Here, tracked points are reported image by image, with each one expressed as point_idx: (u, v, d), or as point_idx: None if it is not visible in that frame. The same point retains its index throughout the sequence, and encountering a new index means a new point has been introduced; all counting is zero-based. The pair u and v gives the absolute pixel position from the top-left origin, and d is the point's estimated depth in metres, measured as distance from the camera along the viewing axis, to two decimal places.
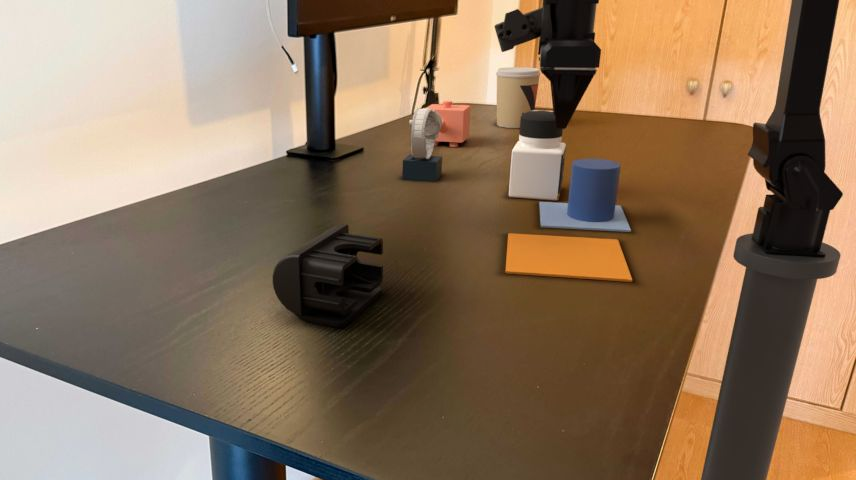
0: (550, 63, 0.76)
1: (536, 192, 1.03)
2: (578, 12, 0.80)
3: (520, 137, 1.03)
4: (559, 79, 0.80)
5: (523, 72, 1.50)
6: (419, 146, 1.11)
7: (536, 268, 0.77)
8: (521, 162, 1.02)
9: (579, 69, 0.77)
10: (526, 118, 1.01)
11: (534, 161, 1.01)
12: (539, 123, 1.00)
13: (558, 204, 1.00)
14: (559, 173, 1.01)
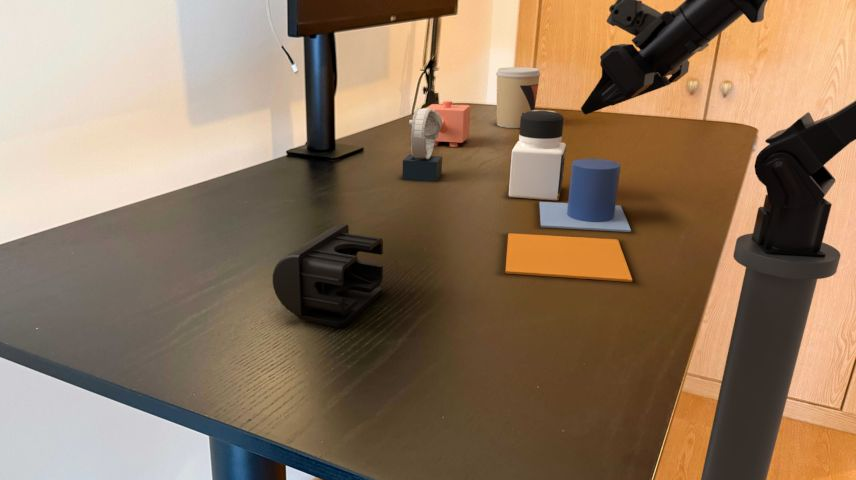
0: (605, 61, 0.85)
1: (536, 192, 1.03)
2: (672, 46, 0.86)
3: (520, 137, 1.03)
4: (609, 78, 0.88)
5: (523, 72, 1.50)
6: (419, 146, 1.11)
7: (536, 268, 0.77)
8: (521, 162, 1.02)
9: None
10: (526, 118, 1.01)
11: (534, 161, 1.01)
12: (539, 123, 1.00)
13: (558, 204, 1.00)
14: (559, 173, 1.01)
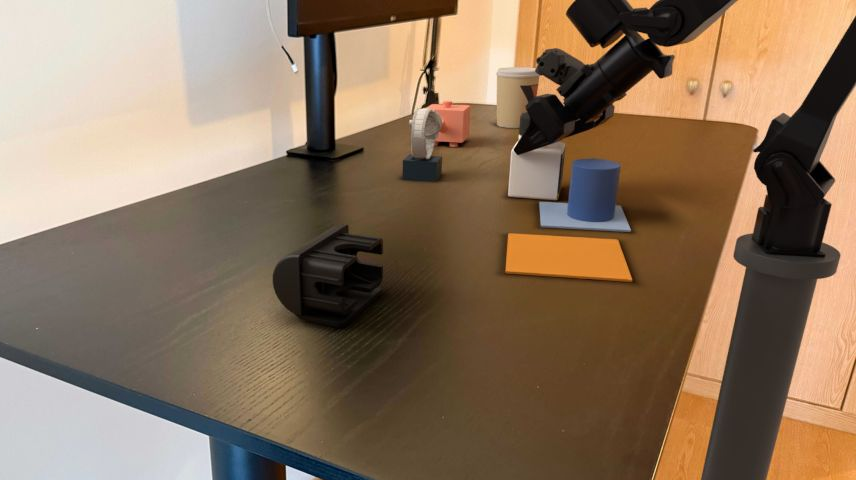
0: (530, 110, 0.93)
1: (535, 191, 1.03)
2: (591, 96, 0.94)
3: (520, 137, 1.03)
4: (536, 124, 0.96)
5: (523, 72, 1.50)
6: (419, 146, 1.11)
7: (536, 268, 0.77)
8: (520, 161, 1.02)
9: None
10: (525, 118, 1.01)
11: (533, 160, 1.01)
12: None
13: (558, 204, 1.00)
14: (558, 173, 1.01)
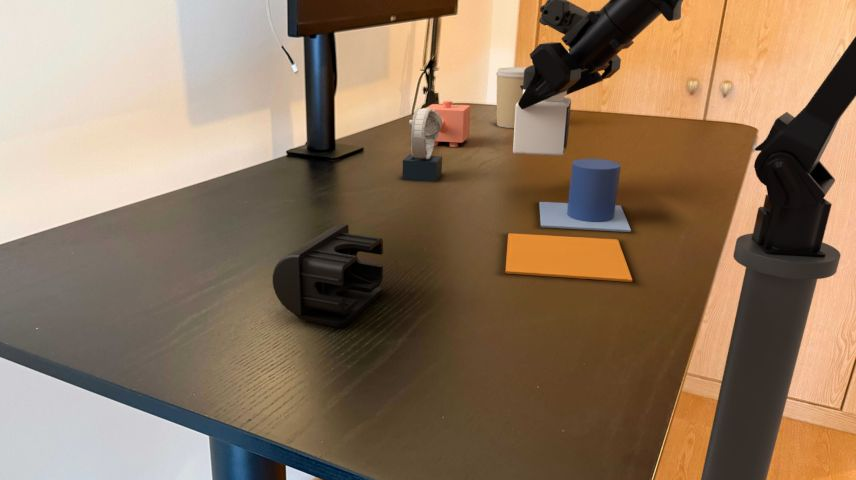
0: (534, 58, 0.90)
1: (541, 147, 1.00)
2: (598, 43, 0.91)
3: (524, 91, 1.00)
4: (541, 74, 0.94)
5: (523, 72, 1.50)
6: (419, 146, 1.11)
7: (536, 268, 0.77)
8: (525, 116, 0.99)
9: None
10: (529, 71, 0.98)
11: (538, 114, 0.98)
12: None
13: (558, 204, 1.00)
14: (565, 126, 0.98)
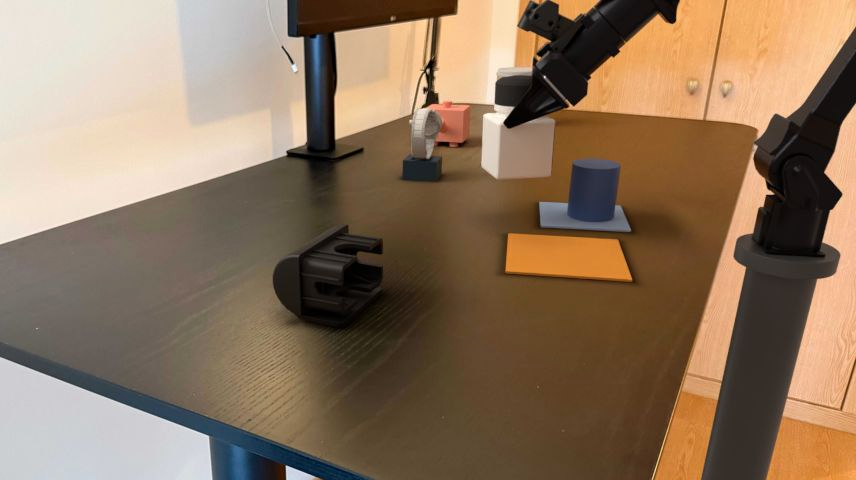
0: (545, 70, 0.77)
1: (528, 169, 0.88)
2: (595, 50, 0.81)
3: (502, 108, 0.87)
4: (538, 88, 0.81)
5: (523, 72, 1.50)
6: (419, 146, 1.11)
7: (536, 268, 0.77)
8: (510, 136, 0.86)
9: (559, 94, 0.79)
10: (509, 84, 0.85)
11: (525, 133, 0.86)
12: (527, 88, 0.85)
13: (558, 204, 1.00)
14: (552, 144, 0.87)
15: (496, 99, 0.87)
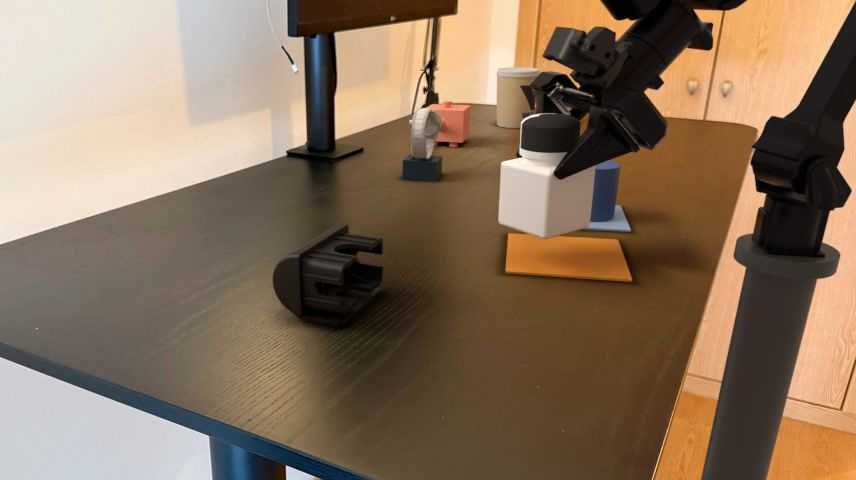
0: (628, 112, 0.65)
1: (571, 222, 0.75)
2: (642, 83, 0.72)
3: (541, 155, 0.73)
4: (600, 131, 0.69)
5: (523, 72, 1.50)
6: (419, 146, 1.11)
7: (536, 268, 0.77)
8: (558, 187, 0.72)
9: (631, 137, 0.68)
10: (552, 127, 0.71)
11: (571, 182, 0.73)
12: (572, 131, 0.72)
13: None
14: (592, 191, 0.76)
15: (530, 145, 0.73)
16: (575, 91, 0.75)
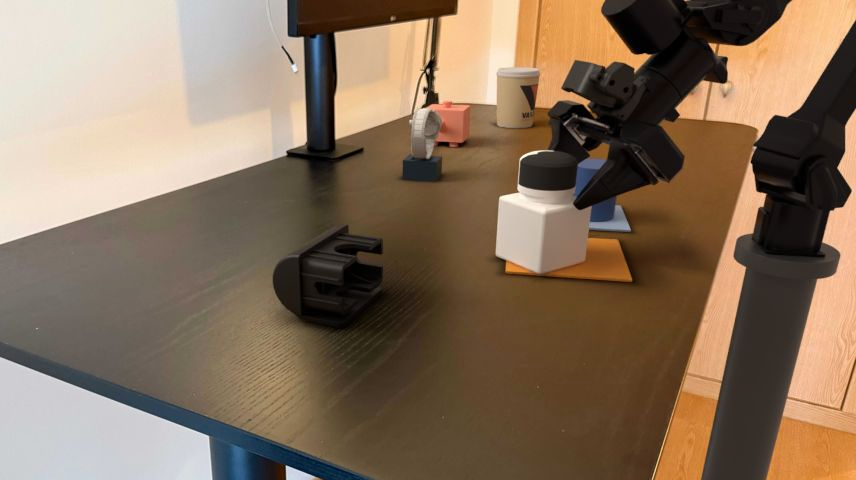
0: (647, 146, 0.67)
1: (567, 258, 0.77)
2: (658, 116, 0.73)
3: (538, 192, 0.74)
4: (620, 163, 0.70)
5: (523, 72, 1.50)
6: (419, 146, 1.11)
7: None
8: (554, 225, 0.74)
9: (651, 170, 0.69)
10: (549, 166, 0.73)
11: (566, 220, 0.75)
12: (569, 170, 0.73)
13: None
14: (588, 228, 0.77)
15: (527, 182, 0.75)
16: (591, 121, 0.77)
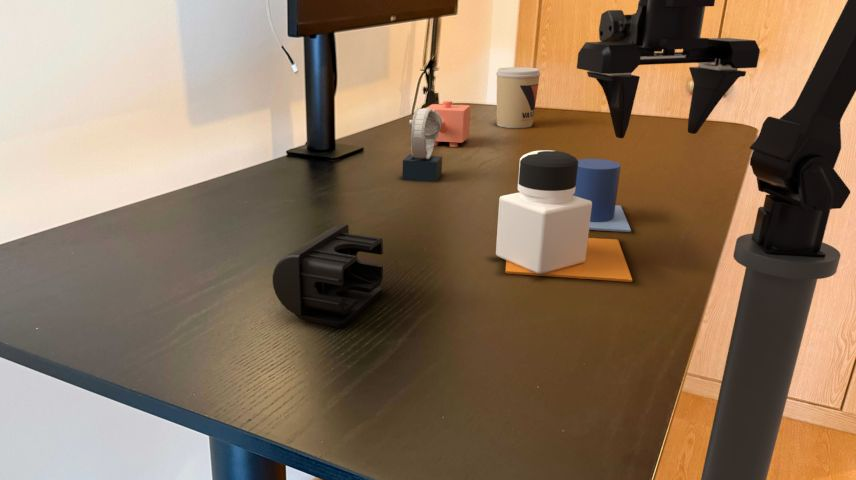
0: (579, 65, 0.77)
1: (567, 258, 0.77)
2: (655, 16, 0.74)
3: (538, 192, 0.74)
4: (610, 84, 0.77)
5: (523, 72, 1.50)
6: (419, 146, 1.11)
7: None
8: (554, 225, 0.74)
9: (606, 74, 0.75)
10: (549, 166, 0.73)
11: (566, 219, 0.75)
12: (568, 170, 0.73)
13: None
14: (588, 228, 0.77)
15: (527, 182, 0.75)
16: None
